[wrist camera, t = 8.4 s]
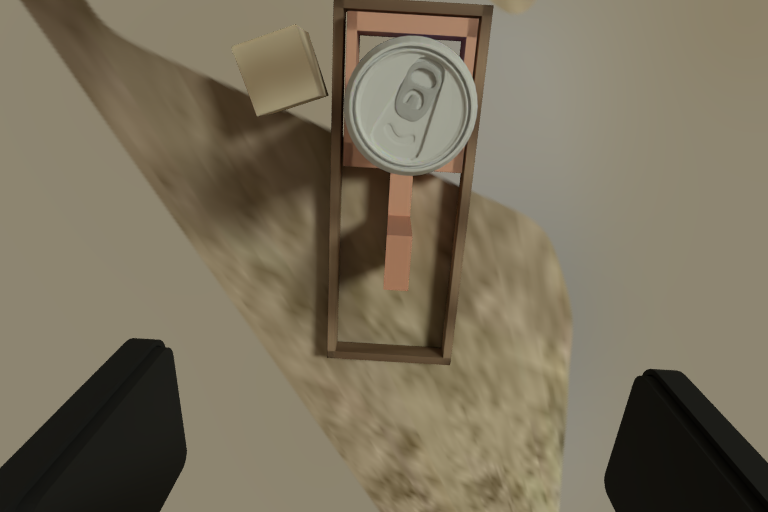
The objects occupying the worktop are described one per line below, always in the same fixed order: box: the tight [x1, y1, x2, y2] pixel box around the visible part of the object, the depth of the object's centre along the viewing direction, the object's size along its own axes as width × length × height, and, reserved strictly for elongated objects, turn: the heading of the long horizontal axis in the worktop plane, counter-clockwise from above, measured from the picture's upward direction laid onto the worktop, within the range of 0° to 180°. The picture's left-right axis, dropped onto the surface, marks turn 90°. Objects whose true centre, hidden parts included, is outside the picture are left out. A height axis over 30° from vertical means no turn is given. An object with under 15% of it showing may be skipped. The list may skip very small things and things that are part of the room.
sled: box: [343, 11, 479, 291], centre depth 29 cm, size 16×8×6 cm, turn 177°
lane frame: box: [327, 0, 493, 365], centre depth 33 cm, size 25×10×2 cm, turn 177°
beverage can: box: [344, 36, 478, 176], centre depth 24 cm, size 5×5×15 cm
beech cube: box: [231, 24, 328, 116], centre depth 29 cm, size 4×4×4 cm
